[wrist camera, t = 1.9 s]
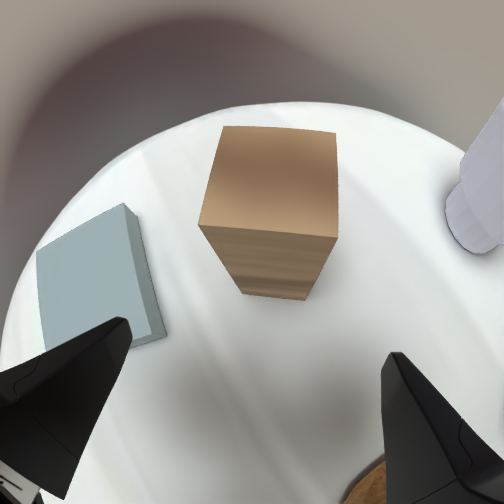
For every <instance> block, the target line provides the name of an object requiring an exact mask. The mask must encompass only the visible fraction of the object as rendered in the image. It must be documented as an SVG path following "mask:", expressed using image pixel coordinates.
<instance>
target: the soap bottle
mask: <svg viewBox="0 0 504 504" xmlns="http://www.w3.org/2000/svg"><path fill="white" fill-rule="evenodd" d="M445 213H446V217H447V221H448V225H449V227H450V229H451V231H452V233H453V235H454V237H455V238H456V239H457V241H458V242H459V243H460V244H461V245H462V246H463V247H464V248H465V249H467V250H469V251H471V252H472V253H486V252H488V251H489V250H491V249H492V248H494V247H496V246H497V245H499V244H500V243H501V244H502V245H504V96H503V98H502V99H501V101H500V102H499V104H498V106H497V107H496V109H495V111H494V112H493V114H492V116H491V117H490V119H489V120H488V121H487V123H486V124H485V126H484V127H483V129H482V130H481V132H480V133H479V135H478V136H477V138H476V139H475V141H474V142H473V143H472V145H471V146H470V148H469V149H468V150H467V152H466V153H465V155H464V157H463V158H462V160H461V162H460V182H459V183H458V184H457V185H456V187H455V188H454V189H453V190H452V191H451V193H450V195H449V196H448V198H447V200H446V209H445Z"/></svg>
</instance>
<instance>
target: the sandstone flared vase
mask: <svg viewBox="0 0 504 504" xmlns="http://www.w3.org/2000/svg"><path fill="white" fill-rule="evenodd" d="M343 504H386V467H385V460H384V461H383V462H382V463H380V464H379V465H378V466H377V467H375V468H374V469H373V470H372V471H371V472H370V473H368V474H367V475H366V476H365V477H364V478H363V479H362V480H361V481H360V482H358V483H357V485H356V486H355V487H354V488H353V489H352V491H351V492H350V494H349V496H348V499H347V500H346V501H344V503H343Z"/></svg>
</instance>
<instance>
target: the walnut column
mask: <svg viewBox="0 0 504 504" xmlns="http://www.w3.org/2000/svg"><path fill="white" fill-rule="evenodd" d="M198 226H199V227H200V229H201V231H202V232H203V234H204V235H205V237H206V238H207V240H208V242H209V243H210V245H211V246H212V248H213V249H214V251H215V253H216V254H217V256H218V257H219V259H220V260H221V262H222V263H223V265H224V266H225V268H226V269H227V271H228V273H229V274H230V276H231V277H232V279H233V280H234V282H235V283H236V285H237V286H238V288H239V289H240V291H241V292H242V294H249V295H257V296H266V297H275V298H284V299H294V300H304V301H305V299H306V297H307V296H308V294H309V292H310V290H311V288H312V287H313V285H314V283H315V281H316V279H317V277H318V275H319V274H320V272H321V270H322V268H323V266H324V264H325V262H326V260H327V258H328V256H329V254H330V253H331V251H332V249H333V247H334V245H335V243H336V241H337V239H338V166H337V145H336V133H331V132H323V131H314V130H304V129H292V128H277V127H254V126H223V130H222V133H221V137H220V140H219V144H218V147H217V151H216V154H215V158H214V162H213V166H212V169H211V173H210V177H209V181H208V185H207V189H206V193H205V197H204V201H203V205H202V209H201V213H200V217H199V222H198Z"/></svg>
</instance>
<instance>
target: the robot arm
mask: <svg viewBox="0 0 504 504" xmlns="http://www.w3.org/2000/svg"><path fill="white" fill-rule="evenodd" d="M132 339H133V335H132V331H131V328H130V325H129V321H128V320H127V319H126V318H124V317H120V316H116V317H114V318H112V319H110V320H108V321H106V322H104V323H102V324H100V325H98V326H96V327H94V328H92V329H90V330H88V331H86V332H84V333H82V334H80V335H78V336H76V337H74V338H72V339H70V340H68V341H66V342H64V343H62V344H60V345H58V346H56V347H54V348H52V349H50V350H48V351H47V352H45V353H43V354H41V355H39V356H37V357H35V358H33V359H31V360H29V361H26V362H24V363H22V364H20V365H17V366H15V367H13V368H10V369H8V370H5V371H3V372H0V504H44V502H43V499H42V496H41V493H40V492H39V490H40V488H42V489H44V490H45V491H47V492H49V493H51V494H53V495H54V496H56V497H58V498H60V499H62V500H64V499H65V497H66V494H67V491H68V489H69V486H70V483H71V481H72V478H73V476H74V473H75V471H76V468H77V466H78V463H79V460H80V458H81V456H82V453H83V451H84V449H85V446H86V444H87V442H88V440H89V437H90V435H91V433H92V431H93V428H94V426H95V424H96V422H97V420H98V417H99V415H100V413H101V411H102V409H103V407H104V405H105V403H106V401H107V398H108V396H109V394H110V392H111V390H112V388H113V386H114V384H115V382H116V380H117V378H118V376H119V374H120V371H121V369H122V366H123V364H124V361H125V358H126V356H127V353H128V350H129V348H130V345H131V343H132ZM381 413H382V424H383V435H384V449H385V467H386V504H504V460H503V459H502V458H501V457H500V456H499V455H498V454H497V453H496V452H495V451H493V450H492V449H491V448H490V447H489V446H488V445H487V444H486V443H485V442H484V441H483V440H482V439H481V438H480V437H479V436H478V435H477V434H476V433H475V432H474V431H473V429H472V428H471V427H470V426H469V425H468V424H467V423H466V422H465V420H464V419H463V418H462V419H461V416H460V415H459V414H458V413H457V411H456V410H455V409H454V408H453V407H452V406H451V405H450V404H449V402H448V401H447V400H446V399H445V398H444V397H443V396H442V395H441V394H440V392H439V391H438V390H437V389H436V388H435V387H434V386H433V385H432V384H431V383H430V381H429V380H428V379H427V378H426V377H425V376H424V375H423V374H422V373H421V372H420V371H419V370H418V369H417V367H416V366H415V365H414V364H413V363H412V362H411V361H410V360H409V359H408V358H407V357H406V356H405V355H404V354H403V353H402V352H391V353H390V354H389V355H388V357H387V359H386V361H385V363H384V365H383V367H382V370H381Z"/></svg>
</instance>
